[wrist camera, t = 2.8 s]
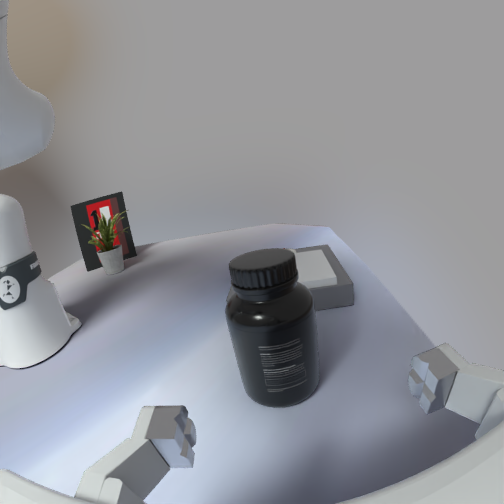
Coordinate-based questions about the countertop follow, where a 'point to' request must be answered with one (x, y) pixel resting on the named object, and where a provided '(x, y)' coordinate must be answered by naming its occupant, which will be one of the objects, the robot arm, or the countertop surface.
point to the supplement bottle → (273, 328)
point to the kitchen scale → (322, 277)
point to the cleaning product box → (88, 216)
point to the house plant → (108, 245)
